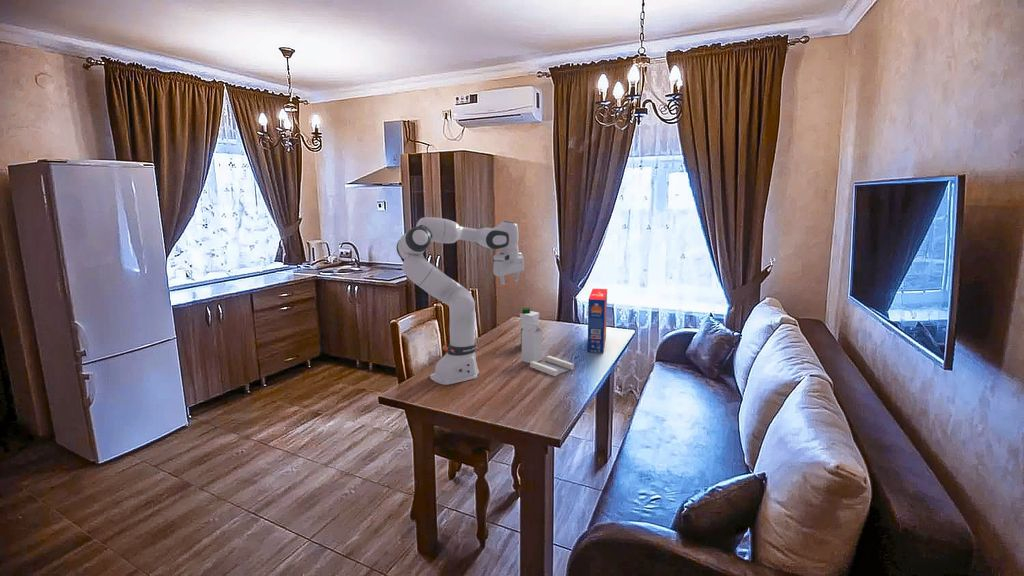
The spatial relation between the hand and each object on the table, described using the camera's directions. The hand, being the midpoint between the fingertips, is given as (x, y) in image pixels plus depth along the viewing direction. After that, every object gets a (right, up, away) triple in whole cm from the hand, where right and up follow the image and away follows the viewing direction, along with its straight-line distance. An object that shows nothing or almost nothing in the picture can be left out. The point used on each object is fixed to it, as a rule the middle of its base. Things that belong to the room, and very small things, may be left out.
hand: (509, 282), depth 237 cm
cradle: (+20, -40, -12) cm, 46 cm away
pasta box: (+47, -33, +22) cm, 62 cm away
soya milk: (+11, -34, +22) cm, 42 cm away
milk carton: (+11, -39, -2) cm, 40 cm away
